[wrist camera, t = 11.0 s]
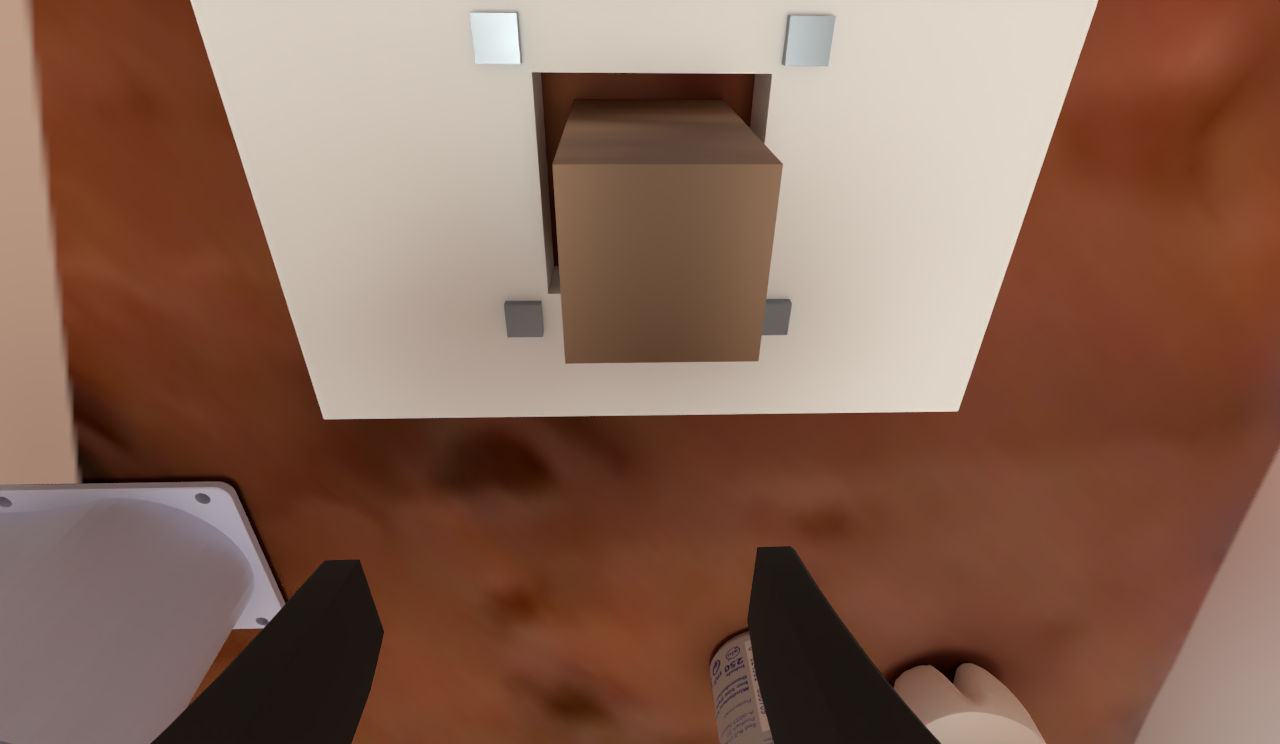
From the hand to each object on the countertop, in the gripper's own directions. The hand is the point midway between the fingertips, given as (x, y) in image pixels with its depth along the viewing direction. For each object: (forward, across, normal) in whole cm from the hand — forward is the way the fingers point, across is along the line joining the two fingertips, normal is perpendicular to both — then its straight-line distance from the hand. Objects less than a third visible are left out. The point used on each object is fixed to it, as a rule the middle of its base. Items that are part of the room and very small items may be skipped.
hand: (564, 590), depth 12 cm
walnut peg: (+10, -2, -5) cm, 12 cm away
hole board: (+10, -2, -5) cm, 12 cm away
